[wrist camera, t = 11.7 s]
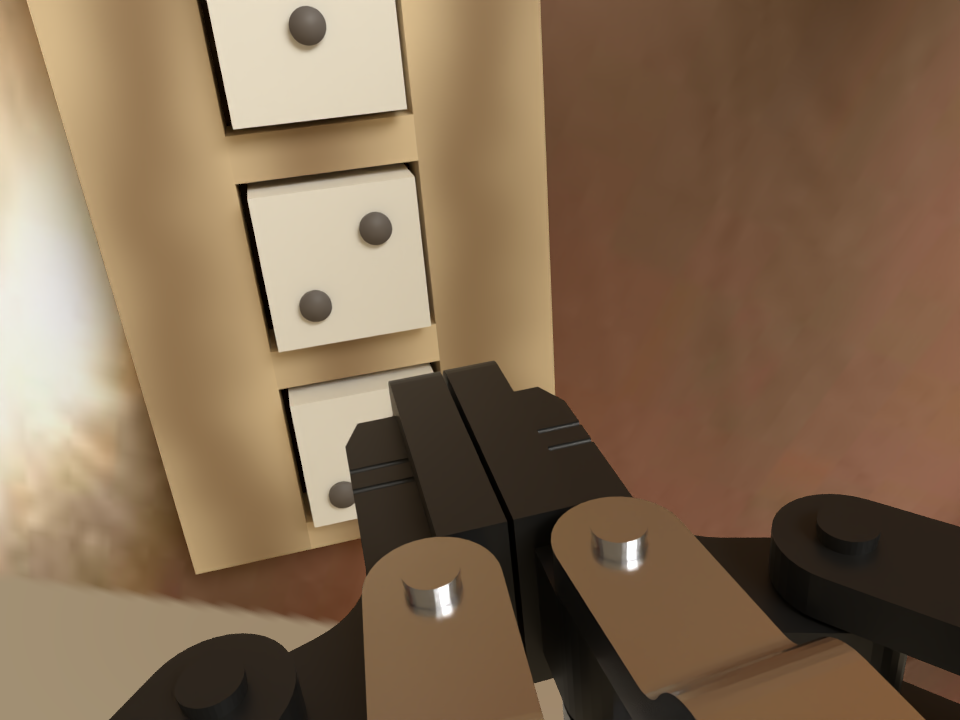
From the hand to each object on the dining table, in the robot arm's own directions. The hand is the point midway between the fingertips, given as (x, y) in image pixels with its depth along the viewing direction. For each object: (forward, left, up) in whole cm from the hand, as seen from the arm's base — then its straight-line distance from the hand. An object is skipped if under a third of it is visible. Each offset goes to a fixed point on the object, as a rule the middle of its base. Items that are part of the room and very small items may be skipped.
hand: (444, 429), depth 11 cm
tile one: (0, -5, -17) cm, 18 cm away
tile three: (0, +9, -17) cm, 20 cm away
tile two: (0, +2, -17) cm, 17 cm away
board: (0, +2, -18) cm, 18 cm away
